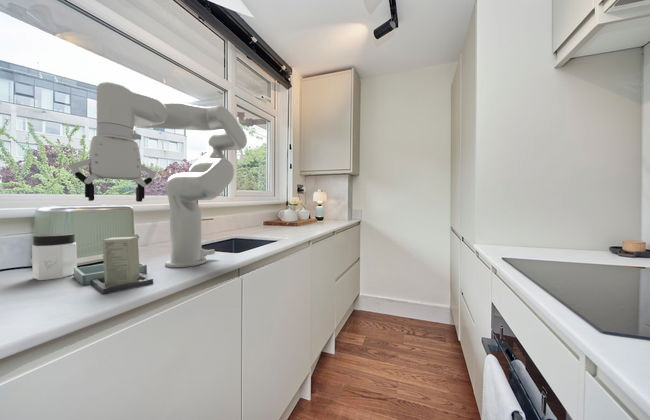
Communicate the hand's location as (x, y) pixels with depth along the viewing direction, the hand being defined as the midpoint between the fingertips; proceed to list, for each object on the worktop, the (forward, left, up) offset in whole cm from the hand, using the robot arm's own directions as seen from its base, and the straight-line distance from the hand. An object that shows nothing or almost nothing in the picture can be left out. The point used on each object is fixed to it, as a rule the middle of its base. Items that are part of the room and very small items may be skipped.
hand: (116, 201), depth 65 cm
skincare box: (-1, +1, -22) cm, 22 cm away
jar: (+9, -23, -22) cm, 33 cm away
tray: (-1, -12, -22) cm, 25 cm away
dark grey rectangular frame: (-1, +1, -22) cm, 22 cm away
